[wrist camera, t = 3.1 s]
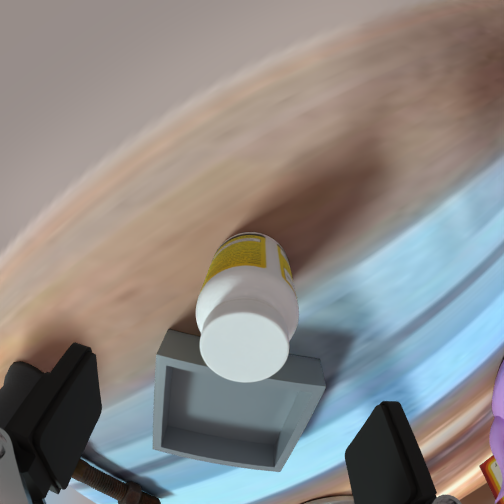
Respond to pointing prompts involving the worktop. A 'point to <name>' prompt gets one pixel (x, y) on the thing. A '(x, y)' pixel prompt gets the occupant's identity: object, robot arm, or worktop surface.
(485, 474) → the baking soda box
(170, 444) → the tray
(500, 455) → the purple lidded sugar bowl
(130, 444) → the worktop surface
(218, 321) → the supplement bottle
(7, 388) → the mug
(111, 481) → the bolt
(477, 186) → the worktop surface
